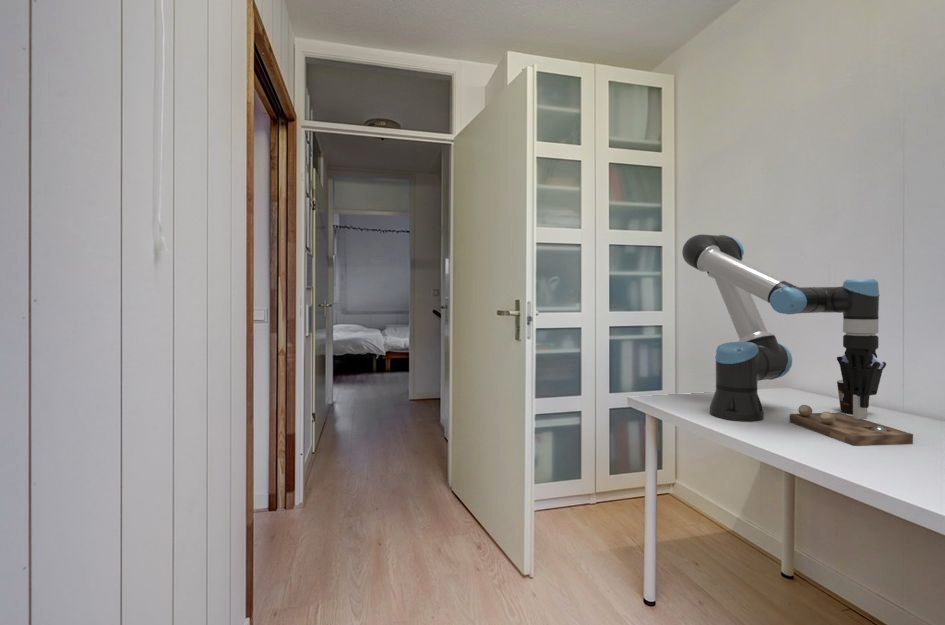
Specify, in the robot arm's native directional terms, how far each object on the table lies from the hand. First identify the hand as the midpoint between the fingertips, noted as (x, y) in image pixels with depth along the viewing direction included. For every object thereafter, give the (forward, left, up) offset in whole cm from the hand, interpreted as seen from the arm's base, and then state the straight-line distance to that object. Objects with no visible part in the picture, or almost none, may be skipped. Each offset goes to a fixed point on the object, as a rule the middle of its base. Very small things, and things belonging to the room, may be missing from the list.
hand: (859, 418), depth 127 cm
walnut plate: (-3, +1, -4) cm, 5 cm away
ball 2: (-9, +1, 0) cm, 9 cm away
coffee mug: (+16, +19, -4) cm, 25 cm away
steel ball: (0, -6, -2) cm, 6 cm away
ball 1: (-9, +9, 0) cm, 12 cm away
